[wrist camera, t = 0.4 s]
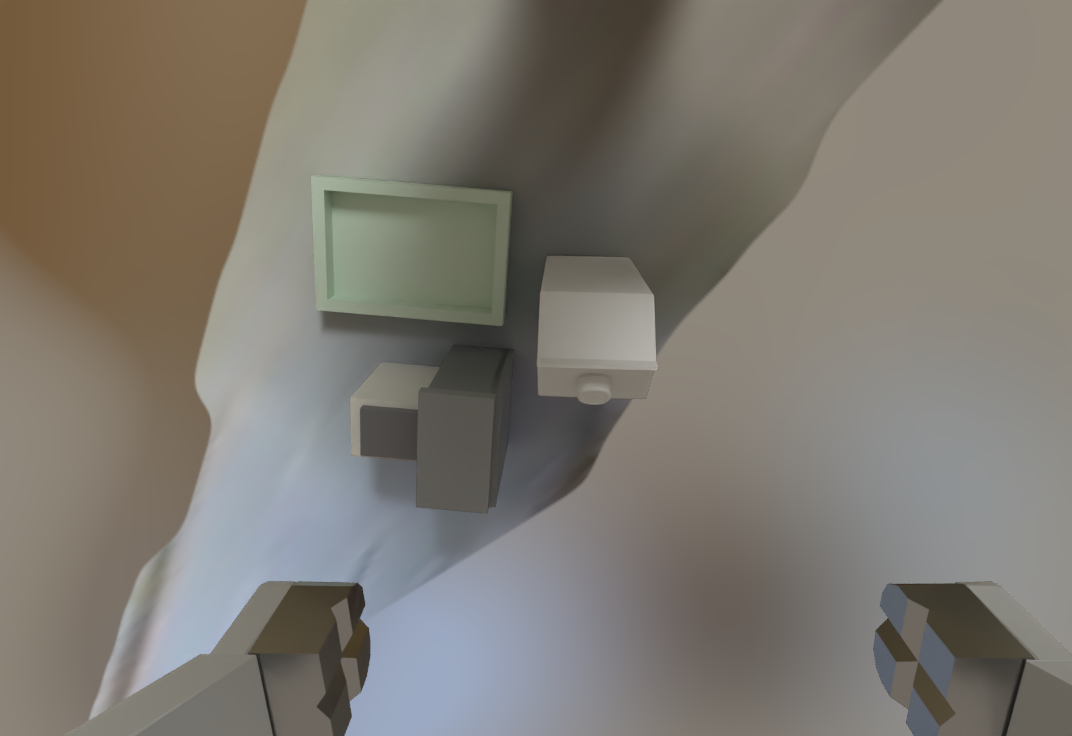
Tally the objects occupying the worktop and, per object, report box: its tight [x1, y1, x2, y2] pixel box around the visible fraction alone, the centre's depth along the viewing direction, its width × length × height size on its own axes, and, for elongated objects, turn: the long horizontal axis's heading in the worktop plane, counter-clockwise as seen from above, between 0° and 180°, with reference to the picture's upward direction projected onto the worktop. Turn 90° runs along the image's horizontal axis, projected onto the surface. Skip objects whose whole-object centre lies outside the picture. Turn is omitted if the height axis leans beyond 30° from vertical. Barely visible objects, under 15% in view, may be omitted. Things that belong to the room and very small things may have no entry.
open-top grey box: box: [416, 345, 514, 514], centre depth 52 cm, size 10×6×12 cm, turn 175°
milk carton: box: [536, 256, 658, 405], centre depth 45 cm, size 7×7×19 cm
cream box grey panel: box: [350, 362, 440, 461], centre depth 53 cm, size 5×10×10 cm, turn 86°
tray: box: [311, 175, 513, 326], centre depth 53 cm, size 11×16×2 cm
